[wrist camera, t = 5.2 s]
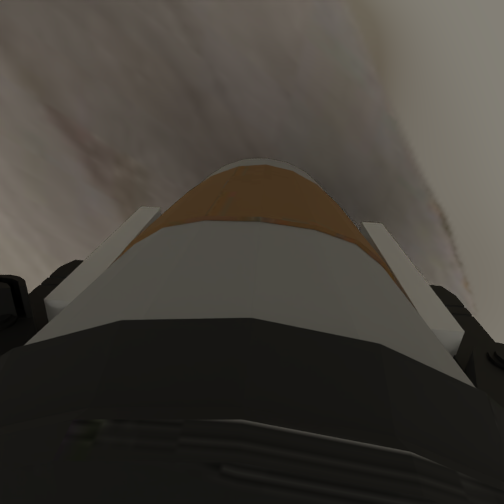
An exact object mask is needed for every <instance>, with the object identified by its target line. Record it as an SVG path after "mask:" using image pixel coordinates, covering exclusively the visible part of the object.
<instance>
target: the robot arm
mask: <svg viewBox="0 0 504 504" xmlns="http://www.w3.org/2000/svg"><path fill="white" fill-rule="evenodd" d="M160 216H161V208H158V207H144V206H141V207H140V208H139V209H138V210H137V211H136V212H135V213H134V214H133V215H132V216H131V217H129V218H128V219H127V220H126V221H125V222H124V223H123V224H122V225H121V226H120V227H119V228H118V229H117V230H116V231H115V232H114V233H113V234H112V235H111V236H110V237H109V238H107V239H106V240H105V241H104V242H103V243H102V244H101V245H100V246H99V247H98V248H97V249H96V250H95V251H94V252H93V253H92V254H91V255H90V256H89V257H88V258H86V259H85V260H84V261H83V260H74V261H72V262H70V263H67V264H65V265H63V266H61V267H59V268H58V269H57V270H56V271H55V272H54V273H52V274H51V275H50V278H47V279H46V280H44V281H43V282H42V283H41V285H39V286H38V287H36V288H35V289H34V290H33V291H32V292H31V293H30V294H28V291H27V287H26V283H25V280H24V279H22V278H21V277H19V276H14V275H0V356H2V355H3V354H5V353H6V352H8V351H10V350H11V349H13V348H16V347H20V346H24V345H25V344H26V343H27V342H28V341H29V340H30V339H31V338H32V337H33V336H35V335H36V334H37V333H38V332H39V331H40V330H41V329H42V328H43V327H44V326H45V325H47V324H48V323H49V322H50V321H51V320H52V319H53V318H54V317H55V316H56V315H58V314H59V313H60V312H61V311H62V310H63V309H64V308H65V307H66V306H67V305H68V304H70V303H71V302H72V301H73V300H74V299H75V298H76V297H77V296H78V295H79V294H80V293H82V292H83V291H84V290H85V289H86V288H87V287H88V286H89V285H90V284H91V283H92V282H94V281H95V280H96V279H97V278H98V277H99V276H100V275H101V274H102V273H103V272H104V271H106V270H107V269H108V268H109V267H110V266H111V265H112V264H113V263H114V262H115V261H116V260H117V259H118V257H119V256H120V255H121V254H122V252H123V251H124V250H125V249H126V247H127V246H128V245H129V244H130V242H131V241H132V240H134V239H135V238H136V237H137V236H138V235H139V234H140V233H142V232H143V231H144V230H145V229H146V228H147V227H148V226H150V225H151V224H152V223H153V222H154V221H155V220H156V219H158V218H159V217H160ZM360 232H361V234H362V235H363V236H364V237H365V239H366V240H367V241H368V242H369V243H370V245H371V246H372V247H373V248H374V250H375V251H376V252H377V253H378V255H379V256H380V257H381V258H382V259H383V261H384V262H385V263H386V264H387V266H388V268H389V270H390V272H391V273H392V275H393V277H394V279H395V281H396V282H397V284H398V286H399V288H400V290H401V291H402V293H403V294H404V295H405V297H406V298H407V299H408V300H409V302H410V303H411V304H412V306H413V307H414V308H415V310H416V311H417V312H418V313H419V315H420V316H421V317H422V319H423V320H424V321H425V322H426V324H427V325H428V326H429V328H430V329H431V330H432V332H433V333H434V334H435V335H436V337H437V338H438V339H439V341H440V342H441V343H442V345H443V346H444V347H445V348H446V350H447V351H448V352H449V354H450V355H451V356H452V358H453V359H454V360H455V361H456V363H457V364H458V365H459V367H460V368H461V369H462V370H463V372H464V373H465V374H466V376H467V377H468V378H469V380H470V381H471V382H472V383H473V385H474V386H475V387H476V388H477V389H479V390H481V391H484V392H486V393H487V394H488V395H489V396H490V397H491V398H492V399H493V400H495V401H496V402H497V403H498V404H499V405H500V406H501V407H502V408H504V344H502V343H496V342H494V340H493V339H492V338H491V337H490V336H489V334H488V333H487V332H486V331H485V330H484V329H483V327H482V326H481V325H480V324H479V323H478V321H477V320H476V319H475V318H474V317H472V314H471V313H470V312H469V311H468V310H467V309H466V308H464V305H463V304H462V303H461V301H460V300H459V299H458V298H457V297H456V296H455V295H454V294H452V293H451V292H449V291H448V290H446V289H445V288H443V287H442V286H434V285H429V284H428V283H427V282H426V280H425V279H424V278H423V277H422V275H421V274H420V273H419V271H418V270H417V269H416V267H415V266H414V265H413V263H412V262H411V261H410V260H409V258H408V257H407V256H406V254H405V253H404V252H403V250H402V249H401V248H400V246H399V245H398V244H397V243H396V241H395V240H394V239H393V237H392V236H391V235H390V233H389V232H388V231H387V229H386V228H385V227H384V225H383V224H382V223H370V222H361V227H360Z"/></svg>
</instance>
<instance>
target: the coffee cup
mask: <svg viewBox="0 0 504 504" xmlns="http://www.w3.org/2000/svg"><path fill="white" fill-rule="evenodd" d="M0 504H504V408H502V407H501V406H500V405H499V404H498V403H497V402H496V401H495V400H493V399H492V398H491V397H490V396H489V395H488V394H487V393H486V392H484V391H481V390H479V389H477V388H476V387H475V386H474V385H473V383H472V382H471V381H470V380H469V378H468V377H467V376H466V374H465V373H464V372H463V370H462V369H461V368H460V367H459V365H458V364H457V363H456V361H455V360H454V359H453V358H452V356H451V355H450V354H449V352H448V351H447V350H446V348H445V347H444V346H443V345H442V343H441V342H440V341H439V339H438V338H437V337H436V335H435V334H434V333H433V332H432V330H431V329H430V328H429V326H428V325H427V324H426V322H425V321H424V320H423V319H422V317H421V316H420V315H419V313H418V312H417V311H416V310H415V308H414V307H413V306H412V304H411V303H410V302H409V300H408V299H407V298H406V297H405V295H404V294H403V293H402V291H401V290H400V288H399V286H398V284H397V282H396V281H395V279H394V277H393V275H392V273H391V272H390V270H389V268H388V266H387V264H386V263H385V262H384V261H383V259H382V258H381V257H380V256H379V255H378V253H377V252H376V251H375V250H374V248H373V247H372V246H371V245H370V243H369V242H368V241H367V240H366V239H365V237H364V236H363V235H362V234H361V232H360V231H359V230H358V229H357V227H356V226H355V225H354V224H353V222H352V221H351V220H350V219H349V218H348V216H347V215H346V214H345V213H344V211H343V210H342V209H341V208H340V206H339V205H338V204H337V203H336V202H335V201H334V200H333V199H332V198H331V197H330V196H328V195H327V194H326V193H325V191H324V190H323V189H322V188H321V186H320V185H319V184H318V183H317V182H316V181H314V180H313V179H312V178H311V177H310V176H309V175H308V174H307V173H306V172H304V171H303V170H301V169H299V168H297V167H295V166H293V165H291V164H289V163H287V162H283V161H278V160H273V159H268V158H255V159H243V160H240V161H237V162H234V163H231V164H227V165H225V166H223V167H222V168H220V169H219V170H217V171H216V172H214V173H213V174H211V175H210V176H208V177H207V178H206V179H205V180H204V181H203V182H202V183H200V184H199V185H197V186H196V187H194V188H193V189H192V190H190V191H189V192H187V193H186V194H185V195H184V196H183V197H182V198H180V199H179V200H178V201H177V202H176V203H175V204H174V205H172V206H171V207H170V208H169V209H168V210H167V211H166V212H164V213H163V214H162V215H161V216H160V217H159V218H158V219H156V220H155V221H154V222H153V223H152V224H151V225H150V226H148V227H147V228H146V229H145V230H144V231H143V232H142V233H140V234H139V235H138V236H137V237H136V238H135V239H134V240H132V241H131V242H130V244H129V245H128V246H127V247H126V249H125V250H124V251H123V252H122V254H121V255H120V256H119V257H118V259H117V260H116V261H115V262H114V263H113V264H112V265H111V266H110V267H109V268H108V269H107V270H106V271H104V272H103V273H102V274H101V275H100V276H99V277H98V278H97V279H96V280H95V281H94V282H92V283H91V284H90V285H89V286H88V287H87V288H86V289H85V290H84V291H83V292H82V293H80V294H79V295H78V296H77V297H76V298H75V299H74V300H73V301H72V302H71V303H70V304H68V305H67V306H66V307H65V308H64V309H63V310H62V311H61V312H60V313H59V314H58V315H56V316H55V317H54V318H53V319H52V320H51V321H50V322H49V323H48V324H47V325H45V326H44V327H43V328H42V329H41V330H40V331H39V332H38V333H37V334H36V335H35V336H33V337H32V338H31V339H30V340H29V341H28V342H27V343H26V344H25V345H24V346H20V347H16V348H13V349H11V350H10V351H8V352H6V353H5V354H3V355H2V356H0Z"/></svg>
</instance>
